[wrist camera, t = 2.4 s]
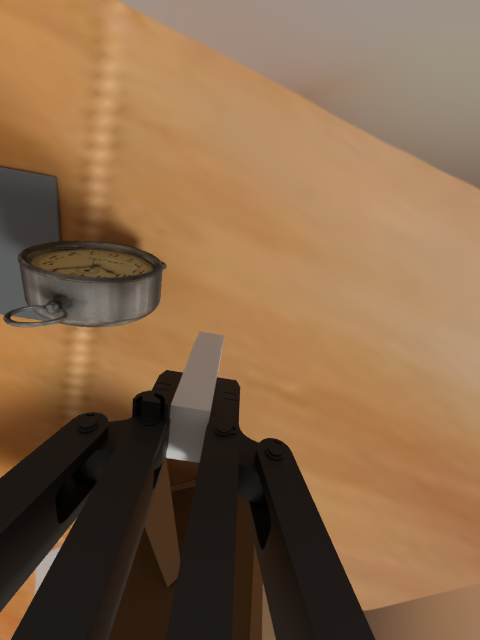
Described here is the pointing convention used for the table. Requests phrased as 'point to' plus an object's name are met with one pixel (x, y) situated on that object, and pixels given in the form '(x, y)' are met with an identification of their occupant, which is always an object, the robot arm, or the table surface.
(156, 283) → the alarm clock
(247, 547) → the photo frame
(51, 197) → the mat
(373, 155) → the table surface
